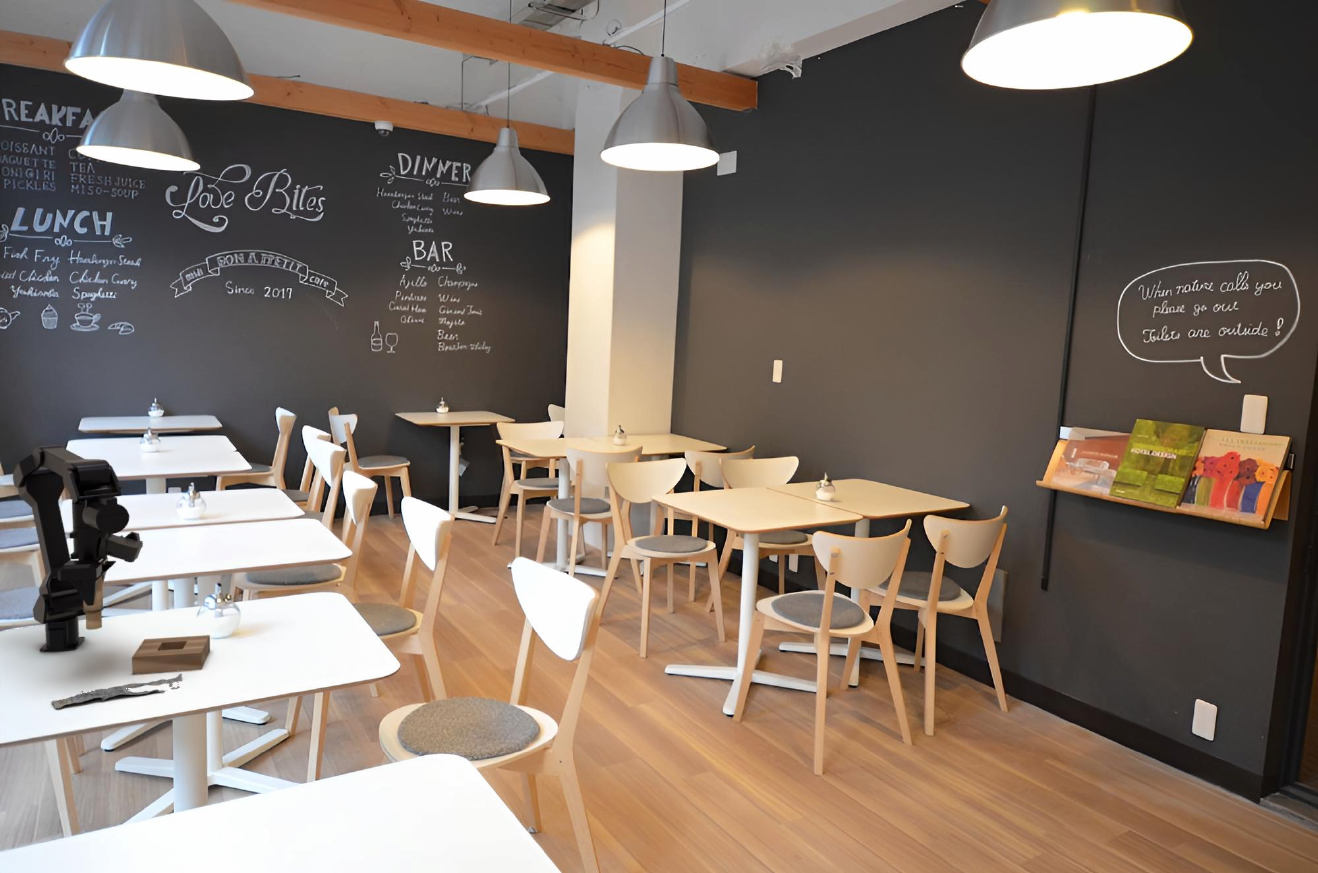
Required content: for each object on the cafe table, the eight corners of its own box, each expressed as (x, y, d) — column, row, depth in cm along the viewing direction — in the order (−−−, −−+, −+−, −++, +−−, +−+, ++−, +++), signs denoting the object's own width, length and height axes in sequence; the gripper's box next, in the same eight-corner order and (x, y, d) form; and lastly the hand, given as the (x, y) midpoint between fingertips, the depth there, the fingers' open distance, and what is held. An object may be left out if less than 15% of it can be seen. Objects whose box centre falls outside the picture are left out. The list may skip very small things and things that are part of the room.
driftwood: (49, 714, 150) (48, 703, 150) (51, 699, 156) (51, 688, 155) (183, 694, 161) (183, 683, 161) (181, 681, 167) (181, 670, 166)
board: (145, 655, 176) (144, 639, 176) (210, 651, 180) (209, 635, 179) (132, 674, 167) (131, 657, 166) (201, 669, 170) (201, 652, 170)
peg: (87, 625, 170) (84, 566, 168) (106, 624, 171) (104, 565, 169) (81, 630, 167) (79, 570, 165) (101, 629, 168) (99, 570, 166)
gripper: (125, 535, 160) (127, 615, 162) (149, 513, 178) (151, 586, 179) (55, 537, 156) (58, 619, 158) (87, 515, 174) (89, 589, 176)
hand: (93, 602), depth 168 cm, fingers closed on peg, 3 cm apart
